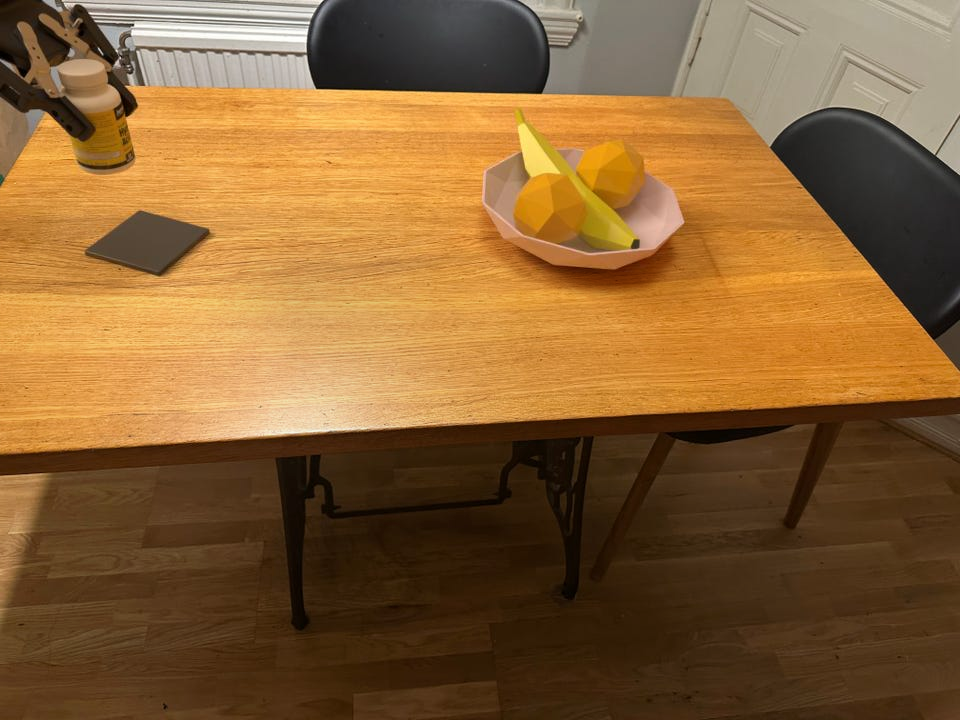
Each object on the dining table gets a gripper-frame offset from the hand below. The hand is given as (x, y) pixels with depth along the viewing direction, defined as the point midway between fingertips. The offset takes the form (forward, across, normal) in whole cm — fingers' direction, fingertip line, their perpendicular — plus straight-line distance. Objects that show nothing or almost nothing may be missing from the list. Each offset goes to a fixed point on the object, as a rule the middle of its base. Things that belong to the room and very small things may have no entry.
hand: (111, 123), depth 68 cm
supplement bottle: (+2, 0, +5) cm, 5 cm away
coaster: (+10, +5, +16) cm, 19 cm away
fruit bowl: (+43, +31, -18) cm, 56 cm away
